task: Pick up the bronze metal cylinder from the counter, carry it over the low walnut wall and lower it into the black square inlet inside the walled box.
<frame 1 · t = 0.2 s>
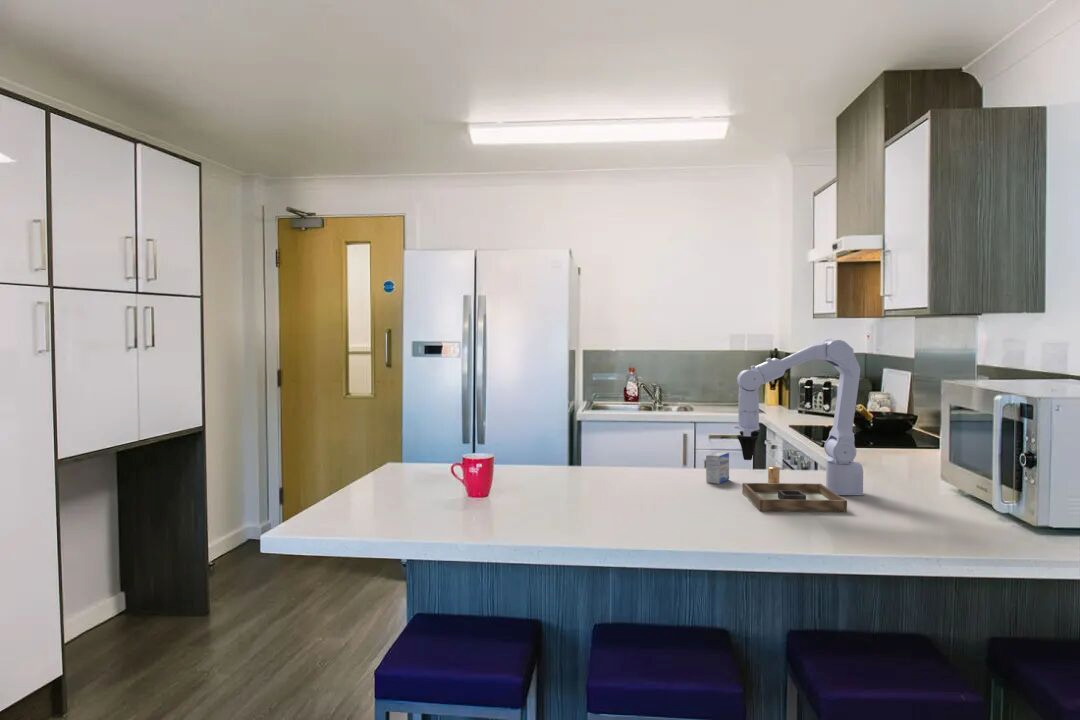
hand: (748, 457, 202), 10 cm above the counter, tool pointing down, fingers open, 7 cm apart
walled box: (791, 502, 189), on the counter
bronze metal cylinder: (773, 487, 207), on the counter
medicine box: (717, 481, 216), on the counter
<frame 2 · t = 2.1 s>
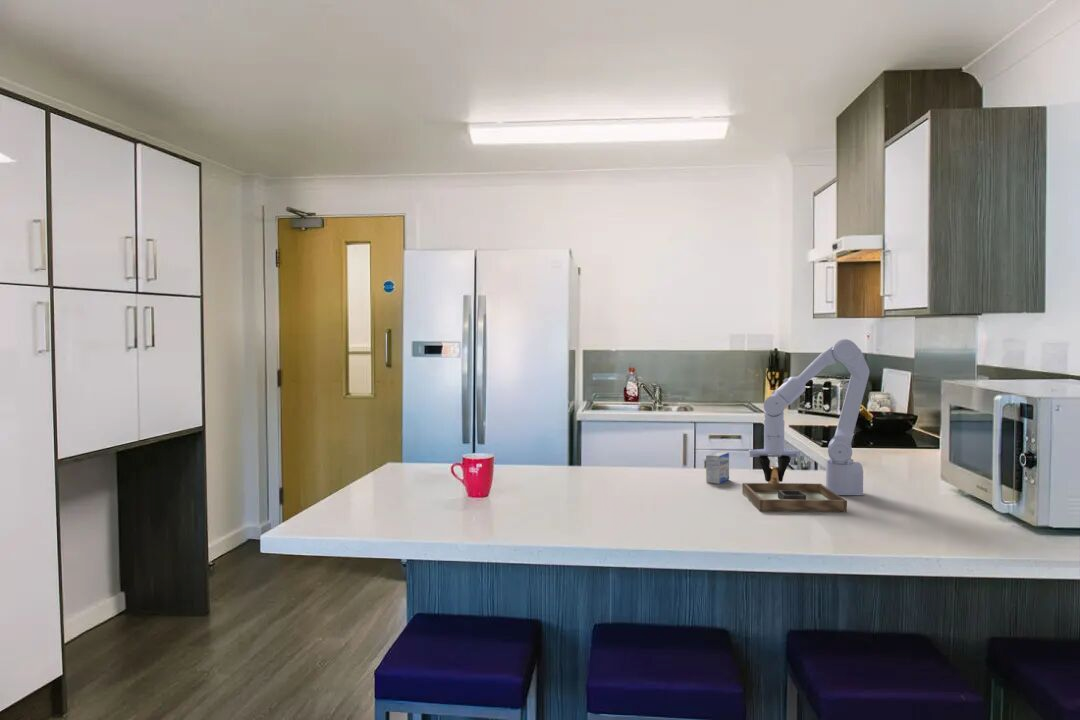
hand: (773, 480, 207), 2 cm above the counter, tool pointing down, fingers closed on bronze metal cylinder, 3 cm apart
bronze metal cylinder: (773, 487, 207), on the counter, touching gripper
everything else where it was.
when the fingers open (3 cm above the counter, at t = 5.8 s): bronze metal cylinder stays where it is, resting on walled box.
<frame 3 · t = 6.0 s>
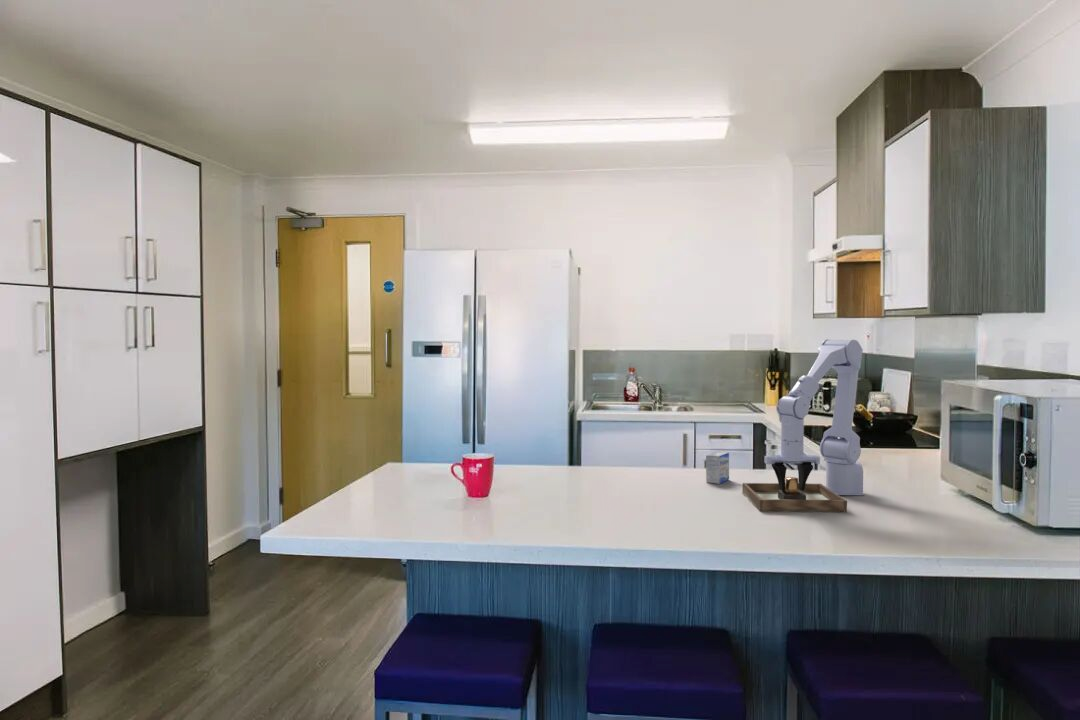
hand: (791, 489, 189), 3 cm above the counter, tool pointing down, fingers open, 5 cm apart
bronze metal cylinder: (791, 500, 189), point 1 cm above the counter, touching walled box
everything else where it was.
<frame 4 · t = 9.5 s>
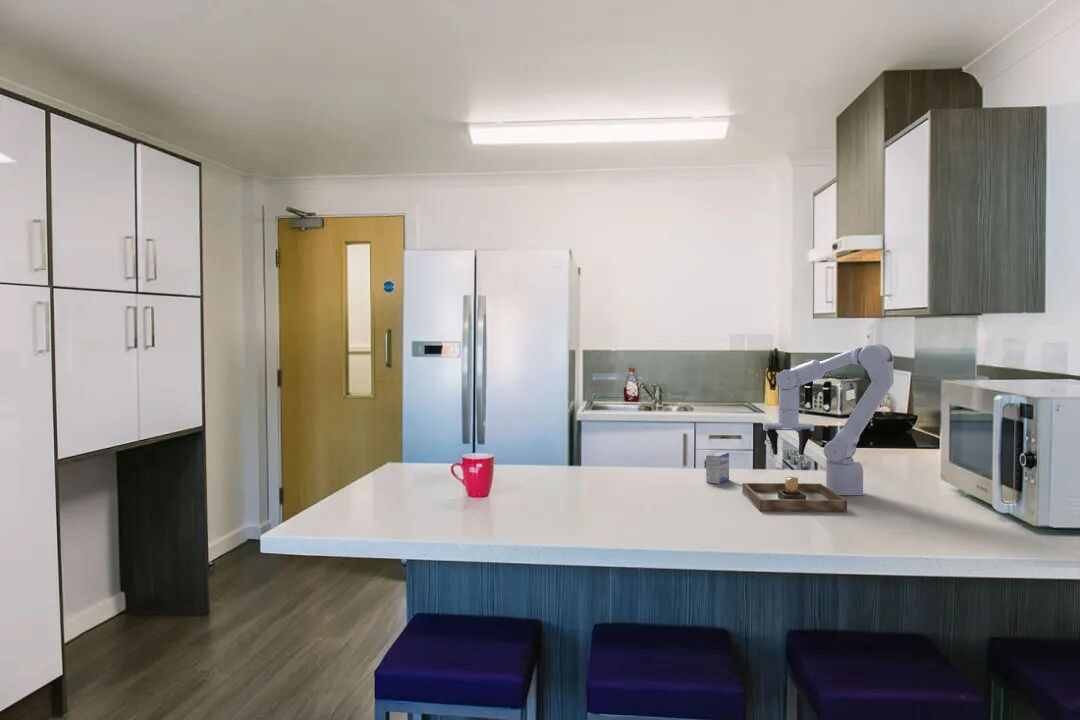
hand: (788, 454, 209), 9 cm above the counter, tool pointing down, fingers open, 7 cm apart
nothing on the counter moved.
at the end: bronze metal cylinder 0.1 cm off-centre on the walled box, point 0.6 cm above the walled box's base; bronze metal cylinder tilted 0°; the gripper is holding nothing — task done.
